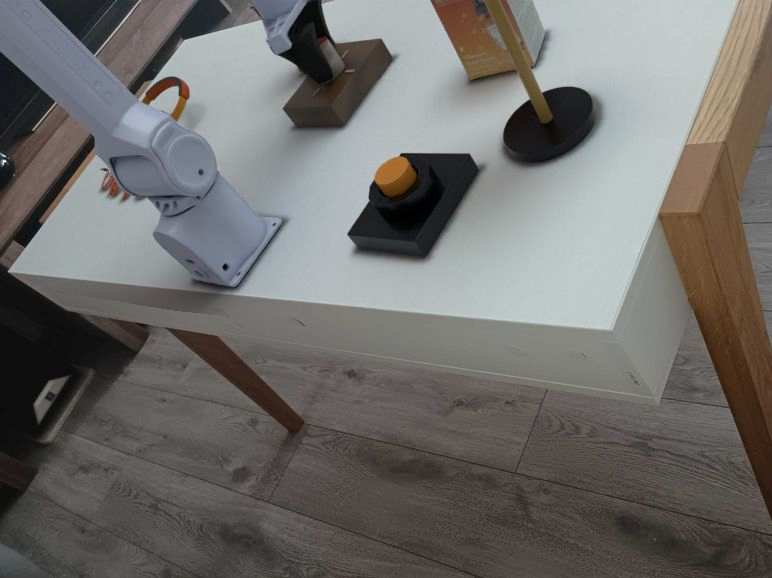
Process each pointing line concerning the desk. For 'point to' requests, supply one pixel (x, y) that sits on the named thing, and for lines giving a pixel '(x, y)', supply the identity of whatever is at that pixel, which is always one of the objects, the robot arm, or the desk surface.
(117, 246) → the desk surface
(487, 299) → the desk surface
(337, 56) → the dimmer knob
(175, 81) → the headphones
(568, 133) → the desk lamp
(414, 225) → the switch base
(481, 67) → the small box
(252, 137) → the desk surface
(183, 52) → the desk surface
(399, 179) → the lamp switch
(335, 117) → the dimmer panel
